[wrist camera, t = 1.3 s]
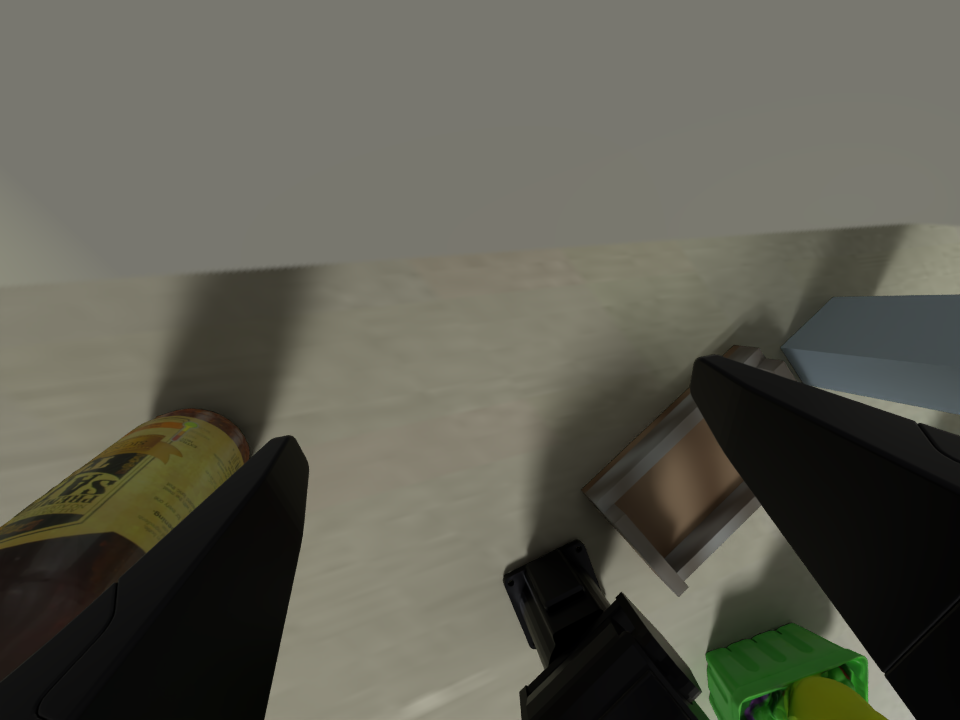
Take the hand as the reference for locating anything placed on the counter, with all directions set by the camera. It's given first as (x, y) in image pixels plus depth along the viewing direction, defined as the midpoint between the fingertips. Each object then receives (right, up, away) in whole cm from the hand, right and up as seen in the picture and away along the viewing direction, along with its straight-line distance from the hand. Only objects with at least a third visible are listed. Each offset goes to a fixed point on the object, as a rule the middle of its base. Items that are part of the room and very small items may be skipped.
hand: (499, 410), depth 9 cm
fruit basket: (+23, -25, +27) cm, 43 cm away
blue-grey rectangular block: (+27, +3, +23) cm, 35 cm away
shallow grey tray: (+16, -7, +22) cm, 29 cm away
